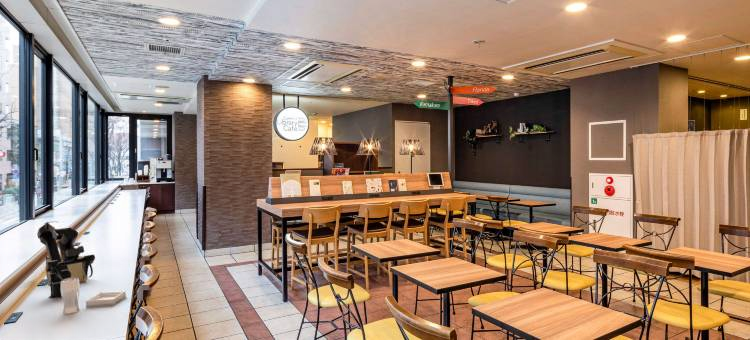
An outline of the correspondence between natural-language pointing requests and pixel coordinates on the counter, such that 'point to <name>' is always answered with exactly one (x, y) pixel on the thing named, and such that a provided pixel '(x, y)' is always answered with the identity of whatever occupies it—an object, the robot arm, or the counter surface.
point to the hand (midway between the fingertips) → (75, 278)
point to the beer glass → (70, 294)
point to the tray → (106, 299)
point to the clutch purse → (75, 270)
